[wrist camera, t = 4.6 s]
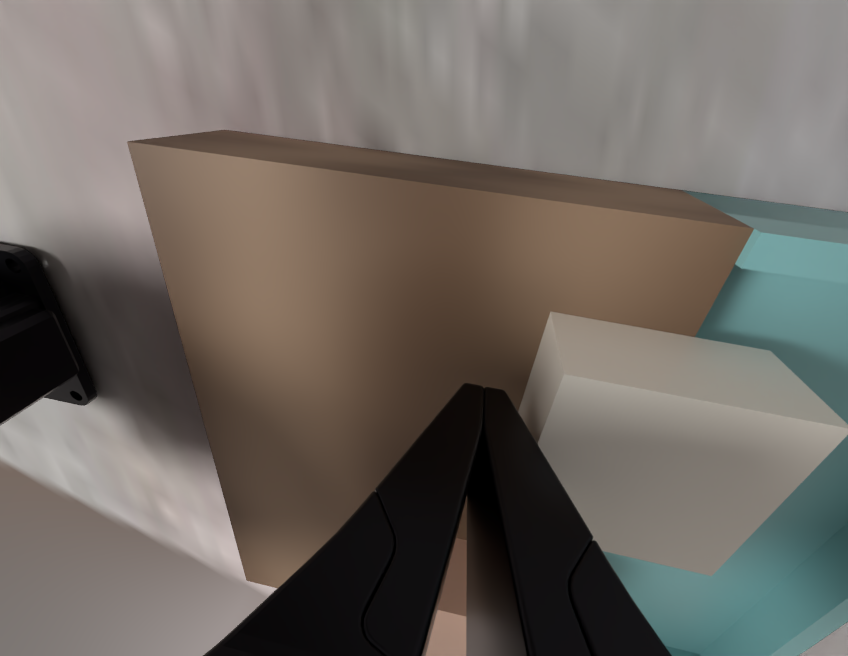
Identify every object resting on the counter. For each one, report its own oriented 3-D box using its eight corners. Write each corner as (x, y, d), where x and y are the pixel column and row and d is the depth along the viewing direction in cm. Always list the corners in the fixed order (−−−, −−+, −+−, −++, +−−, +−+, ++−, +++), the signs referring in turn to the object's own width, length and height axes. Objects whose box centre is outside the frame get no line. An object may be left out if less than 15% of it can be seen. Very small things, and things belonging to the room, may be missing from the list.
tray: (520, 567, 17) (523, 656, 14) (681, 190, 9) (761, 232, 6) (687, 606, 16) (724, 706, 14) (1034, 237, 8) (1302, 307, 5)
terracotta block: (409, 594, 14) (396, 663, 12) (419, 529, 12) (405, 602, 10) (521, 621, 14) (524, 696, 12) (553, 559, 11) (561, 640, 10)
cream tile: (504, 452, 10) (504, 528, 8) (550, 311, 8) (564, 373, 6) (673, 488, 9) (711, 576, 8) (770, 350, 7) (853, 429, 5)
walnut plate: (282, 512, 18) (246, 580, 16) (224, 129, 10) (127, 141, 7) (520, 567, 17) (523, 649, 15) (681, 190, 9) (754, 228, 6)
